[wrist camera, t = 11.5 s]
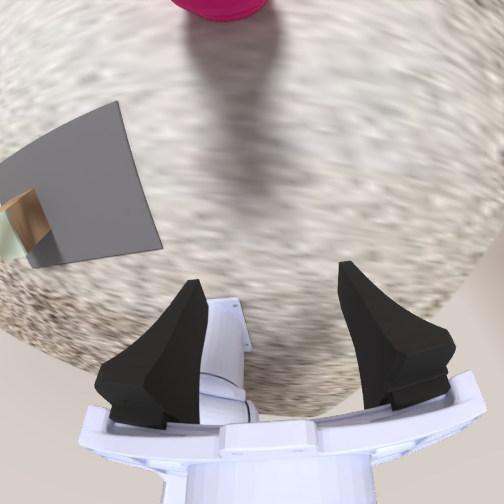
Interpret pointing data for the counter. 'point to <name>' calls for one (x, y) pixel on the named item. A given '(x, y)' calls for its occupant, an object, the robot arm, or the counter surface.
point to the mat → (83, 190)
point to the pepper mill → (222, 8)
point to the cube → (21, 225)
